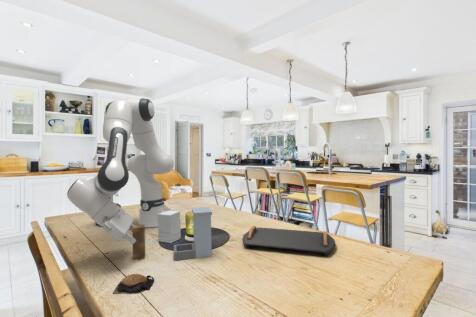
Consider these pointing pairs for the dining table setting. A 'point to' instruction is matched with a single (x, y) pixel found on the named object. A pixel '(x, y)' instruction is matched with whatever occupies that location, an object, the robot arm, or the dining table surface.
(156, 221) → the robot arm
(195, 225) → the pale blue tower
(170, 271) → the dining table surface
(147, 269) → the dining table surface
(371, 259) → the dining table surface
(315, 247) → the serving board
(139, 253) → the walnut block
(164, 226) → the supplement box
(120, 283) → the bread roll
